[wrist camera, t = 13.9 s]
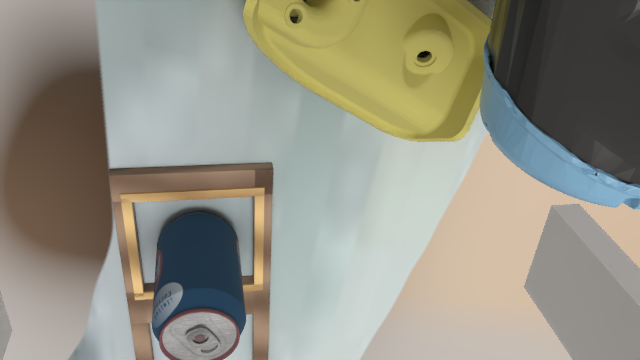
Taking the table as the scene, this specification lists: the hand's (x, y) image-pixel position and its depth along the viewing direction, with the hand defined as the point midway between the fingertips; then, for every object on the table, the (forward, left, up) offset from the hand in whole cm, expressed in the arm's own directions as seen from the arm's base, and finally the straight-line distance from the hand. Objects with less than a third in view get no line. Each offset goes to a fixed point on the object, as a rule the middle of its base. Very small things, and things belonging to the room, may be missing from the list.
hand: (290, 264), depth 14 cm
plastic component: (-10, +4, -32) cm, 34 cm away
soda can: (+3, +24, -32) cm, 40 cm away
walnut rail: (+3, +31, -32) cm, 44 cm away
